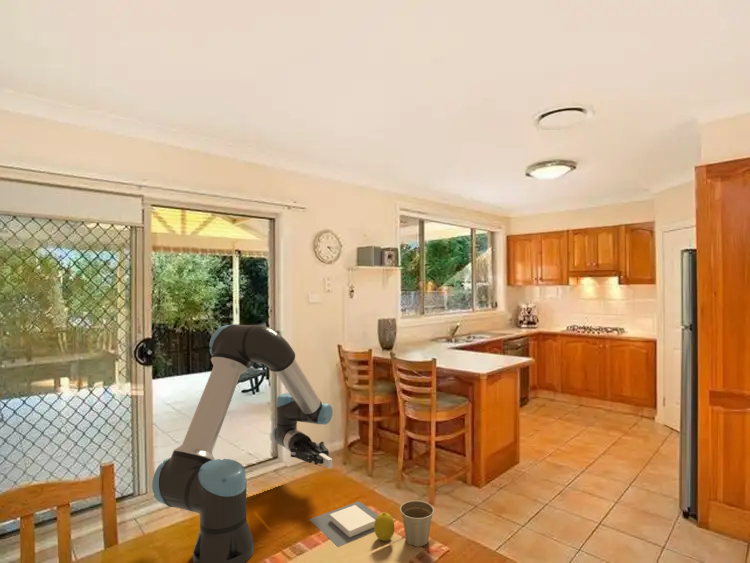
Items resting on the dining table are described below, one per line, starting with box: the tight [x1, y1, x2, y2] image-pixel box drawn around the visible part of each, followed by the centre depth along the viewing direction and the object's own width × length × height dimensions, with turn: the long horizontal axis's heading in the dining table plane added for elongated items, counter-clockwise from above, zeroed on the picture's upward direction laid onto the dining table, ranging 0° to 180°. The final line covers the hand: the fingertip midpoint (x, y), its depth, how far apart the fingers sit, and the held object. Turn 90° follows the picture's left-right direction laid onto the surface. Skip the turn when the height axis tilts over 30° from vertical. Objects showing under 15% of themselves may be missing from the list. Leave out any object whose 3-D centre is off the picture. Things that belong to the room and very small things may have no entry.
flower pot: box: [399, 500, 435, 547], centre depth 120 cm, size 9×9×9 cm
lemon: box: [374, 511, 395, 542], centre depth 120 cm, size 6×6×8 cm
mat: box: [308, 500, 379, 548], centre depth 129 cm, size 18×17×1 cm
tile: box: [330, 505, 375, 538], centre depth 127 cm, size 9×2×11 cm
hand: (330, 463), depth 138 cm, fingers closed
